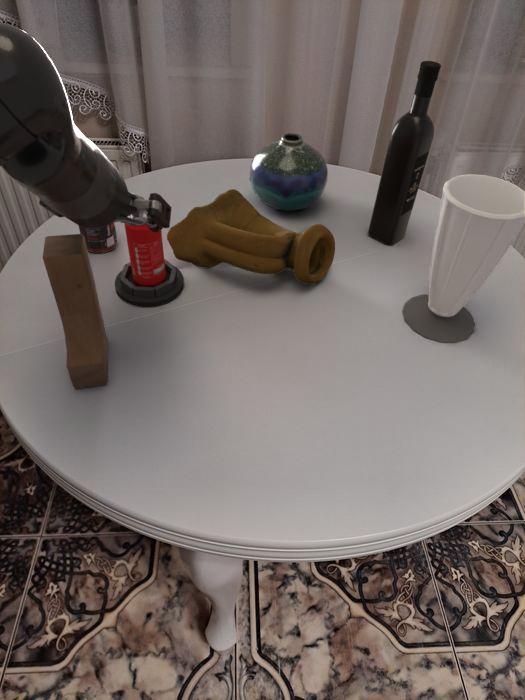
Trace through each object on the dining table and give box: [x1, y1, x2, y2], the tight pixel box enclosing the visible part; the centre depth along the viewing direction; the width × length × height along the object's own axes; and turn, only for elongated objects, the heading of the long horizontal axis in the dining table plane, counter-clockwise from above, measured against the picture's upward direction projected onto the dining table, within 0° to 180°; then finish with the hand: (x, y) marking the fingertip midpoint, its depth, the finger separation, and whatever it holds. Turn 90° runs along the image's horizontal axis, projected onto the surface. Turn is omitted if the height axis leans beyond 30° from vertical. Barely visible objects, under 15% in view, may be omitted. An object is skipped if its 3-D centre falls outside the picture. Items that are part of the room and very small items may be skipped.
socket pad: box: [114, 258, 185, 308], centre depth 82 cm, size 11×11×2 cm
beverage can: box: [123, 211, 166, 287], centre depth 78 cm, size 5×5×12 cm
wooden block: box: [42, 233, 109, 390], centre depth 64 cm, size 9×4×18 cm, turn 12°
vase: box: [249, 132, 329, 212], centre depth 100 cm, size 15×15×13 cm
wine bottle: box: [367, 60, 442, 246], centre depth 87 cm, size 6×6×30 cm
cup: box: [402, 173, 525, 344], centre depth 74 cm, size 12×12×22 cm
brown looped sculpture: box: [166, 188, 336, 285], centre depth 84 cm, size 18×13×22 cm
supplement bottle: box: [77, 222, 118, 254], centre depth 86 cm, size 6×6×11 cm
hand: (125, 221), depth 68 cm, fingers open, 8 cm apart
